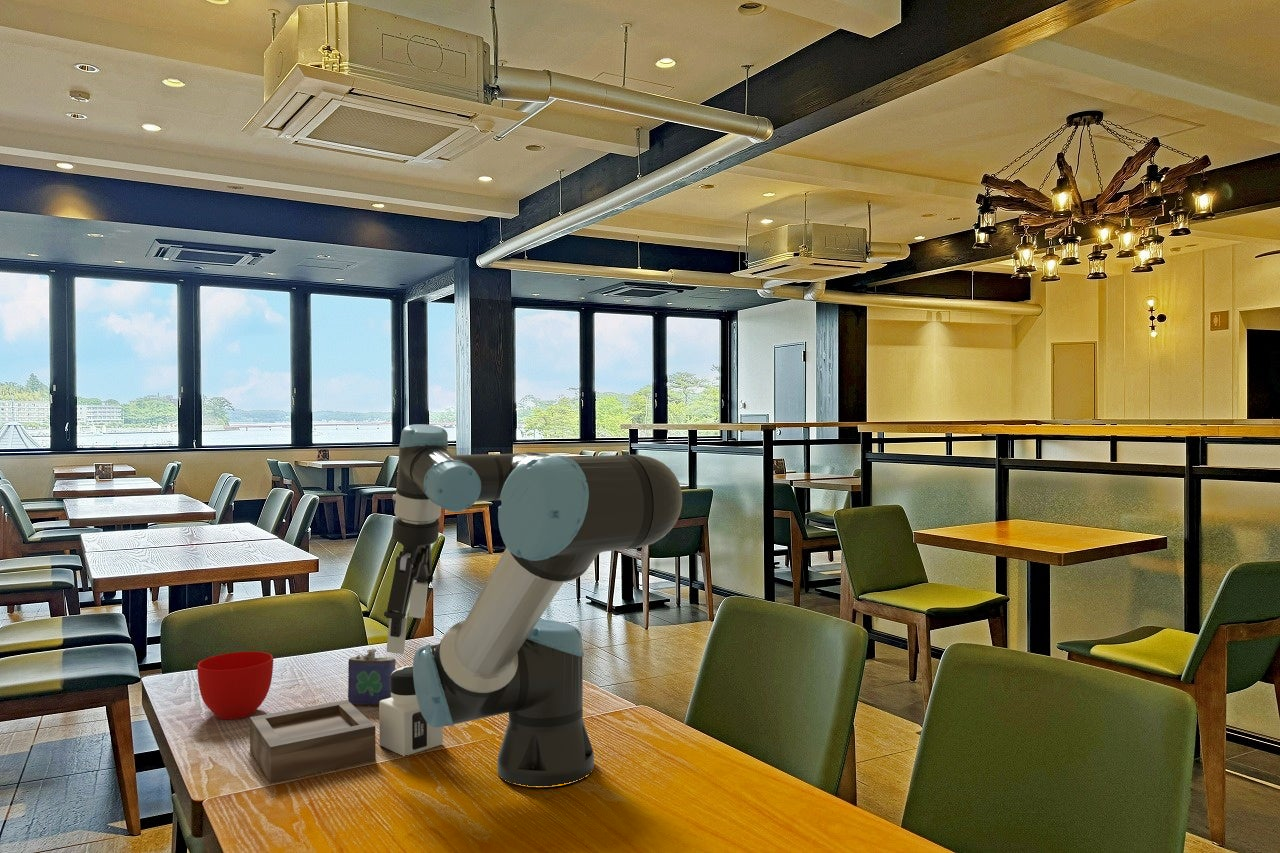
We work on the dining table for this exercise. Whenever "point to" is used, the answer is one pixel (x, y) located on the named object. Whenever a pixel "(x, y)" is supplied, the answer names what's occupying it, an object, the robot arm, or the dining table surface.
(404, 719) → the container
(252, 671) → the ceramic cup
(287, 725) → the thick-rimmed brown tray
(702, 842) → the dining table surface
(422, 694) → the robot arm
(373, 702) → the flask
